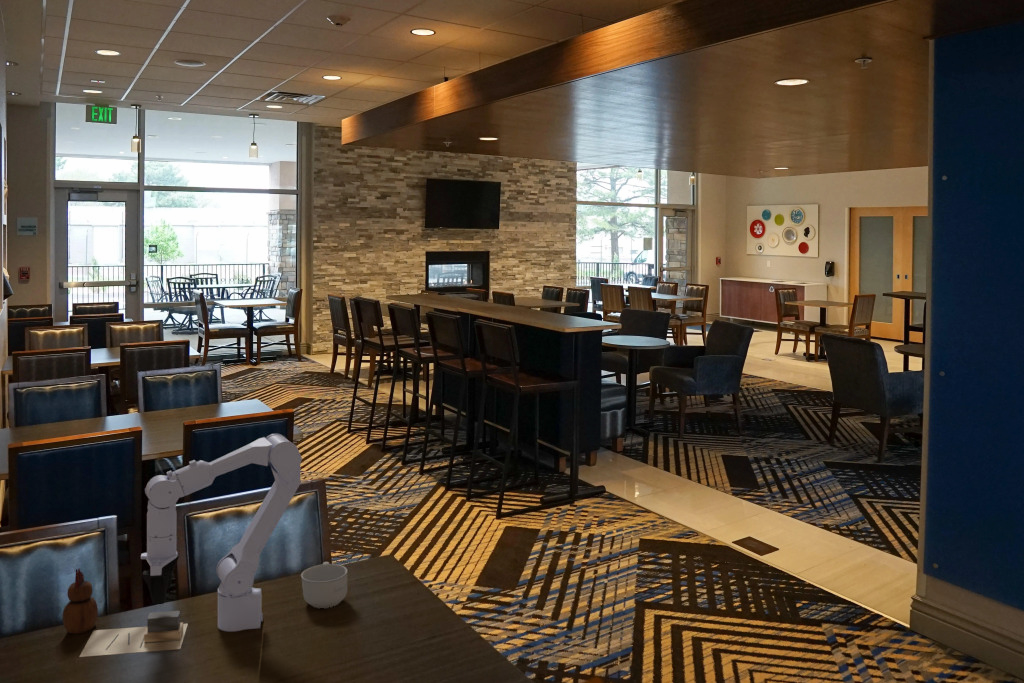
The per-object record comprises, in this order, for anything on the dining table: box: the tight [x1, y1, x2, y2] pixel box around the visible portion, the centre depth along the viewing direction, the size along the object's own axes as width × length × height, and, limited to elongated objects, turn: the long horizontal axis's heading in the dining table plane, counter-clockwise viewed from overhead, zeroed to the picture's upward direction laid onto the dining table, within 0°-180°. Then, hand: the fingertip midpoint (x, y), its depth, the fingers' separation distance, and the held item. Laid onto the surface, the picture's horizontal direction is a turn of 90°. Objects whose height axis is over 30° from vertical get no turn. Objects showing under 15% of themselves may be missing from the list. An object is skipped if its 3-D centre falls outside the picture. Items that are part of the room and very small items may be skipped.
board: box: [78, 623, 189, 658], centre depth 173 cm, size 19×12×1 cm, turn 104°
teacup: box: [300, 561, 349, 609], centre depth 198 cm, size 14×11×8 cm
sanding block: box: [144, 610, 184, 644], centre depth 174 cm, size 7×4×5 cm, turn 104°
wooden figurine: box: [62, 568, 99, 634], centre depth 176 cm, size 7×6×15 cm
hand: (161, 596), depth 173 cm, fingers open, 7 cm apart
